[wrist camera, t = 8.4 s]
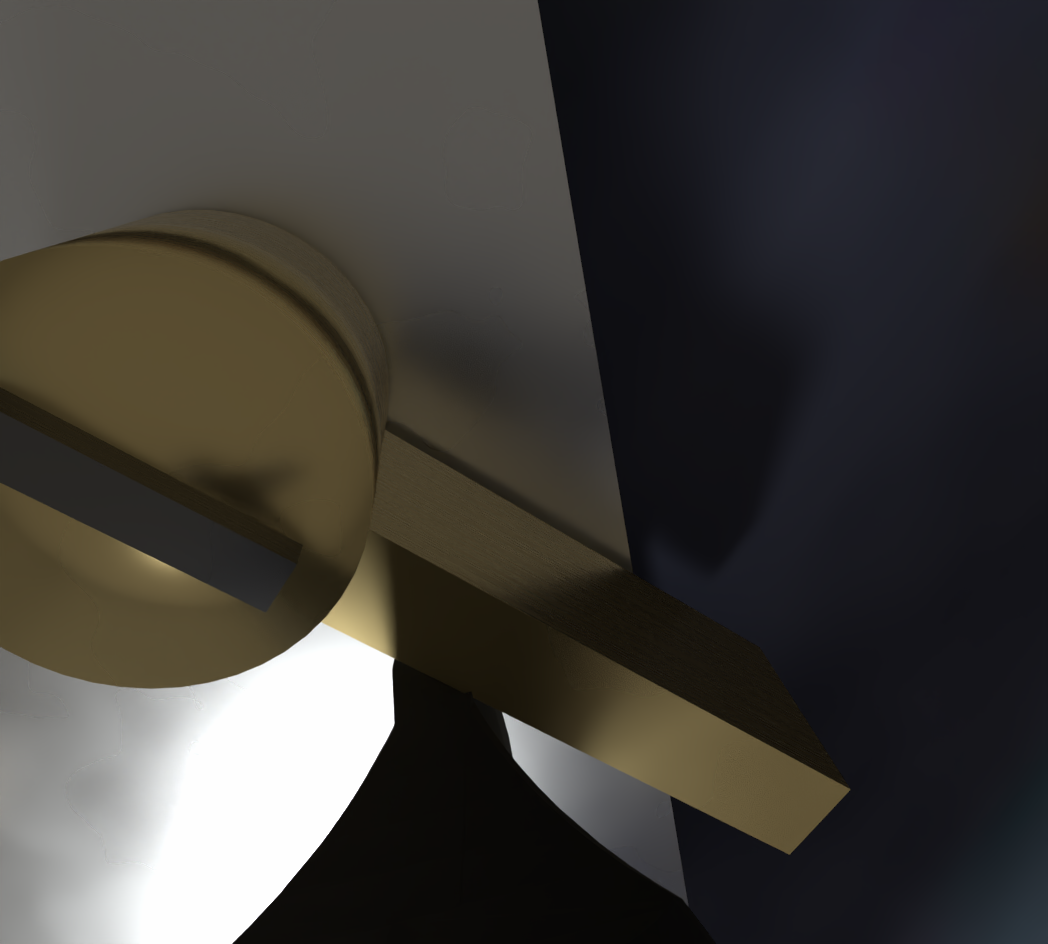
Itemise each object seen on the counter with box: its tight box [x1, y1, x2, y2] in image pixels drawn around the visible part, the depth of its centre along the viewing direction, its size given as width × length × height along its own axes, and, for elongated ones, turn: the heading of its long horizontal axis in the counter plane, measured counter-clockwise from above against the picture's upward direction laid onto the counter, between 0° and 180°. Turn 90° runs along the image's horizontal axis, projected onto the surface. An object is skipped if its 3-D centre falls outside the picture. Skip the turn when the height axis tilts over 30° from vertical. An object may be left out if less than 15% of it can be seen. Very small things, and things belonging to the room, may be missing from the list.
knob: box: [0, 210, 851, 855], centre depth 10 cm, size 11×4×4 cm, turn 56°
